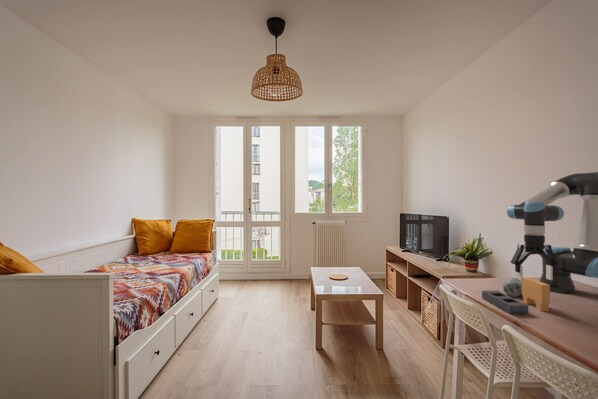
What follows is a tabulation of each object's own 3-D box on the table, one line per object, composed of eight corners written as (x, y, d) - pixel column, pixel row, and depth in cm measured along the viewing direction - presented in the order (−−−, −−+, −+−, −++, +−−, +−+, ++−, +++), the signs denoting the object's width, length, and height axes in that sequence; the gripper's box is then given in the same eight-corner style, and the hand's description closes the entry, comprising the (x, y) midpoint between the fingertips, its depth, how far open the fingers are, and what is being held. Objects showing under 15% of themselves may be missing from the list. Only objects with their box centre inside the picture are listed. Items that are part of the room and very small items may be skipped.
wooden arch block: (529, 301, 140) (528, 277, 140) (550, 311, 128) (549, 285, 128) (521, 301, 140) (521, 277, 140) (542, 311, 128) (541, 285, 128)
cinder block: (498, 298, 145) (497, 290, 145) (528, 314, 125) (528, 305, 125) (482, 298, 145) (482, 290, 145) (509, 314, 125) (509, 305, 125)
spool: (525, 294, 141) (514, 274, 146) (504, 298, 147) (495, 279, 152) (532, 294, 149) (522, 276, 154) (512, 299, 155) (503, 280, 160)
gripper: (554, 233, 137) (554, 277, 137) (501, 233, 138) (501, 277, 138) (568, 235, 130) (569, 281, 130) (512, 235, 130) (513, 281, 130)
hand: (534, 279), depth 134 cm, fingers open, 13 cm apart
